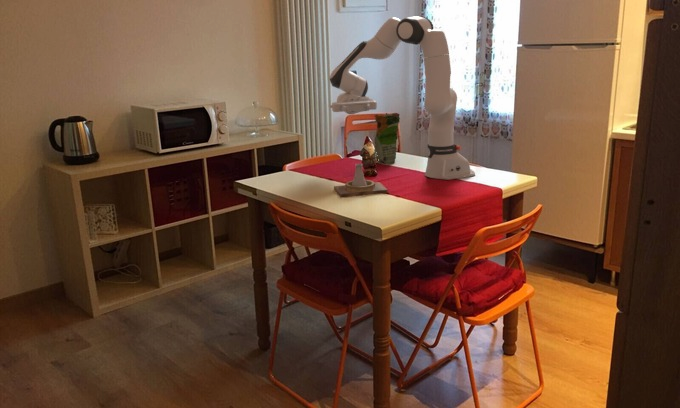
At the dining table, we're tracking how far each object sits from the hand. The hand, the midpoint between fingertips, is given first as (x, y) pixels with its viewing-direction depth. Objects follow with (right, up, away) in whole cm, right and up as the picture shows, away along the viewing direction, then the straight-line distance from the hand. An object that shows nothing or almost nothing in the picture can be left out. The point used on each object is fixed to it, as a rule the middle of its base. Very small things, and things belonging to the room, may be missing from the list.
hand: (357, 108), depth 256 cm
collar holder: (+1, -37, -11) cm, 39 cm away
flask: (0, -36, -12) cm, 38 cm away
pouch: (+16, -21, +39) cm, 48 cm away
